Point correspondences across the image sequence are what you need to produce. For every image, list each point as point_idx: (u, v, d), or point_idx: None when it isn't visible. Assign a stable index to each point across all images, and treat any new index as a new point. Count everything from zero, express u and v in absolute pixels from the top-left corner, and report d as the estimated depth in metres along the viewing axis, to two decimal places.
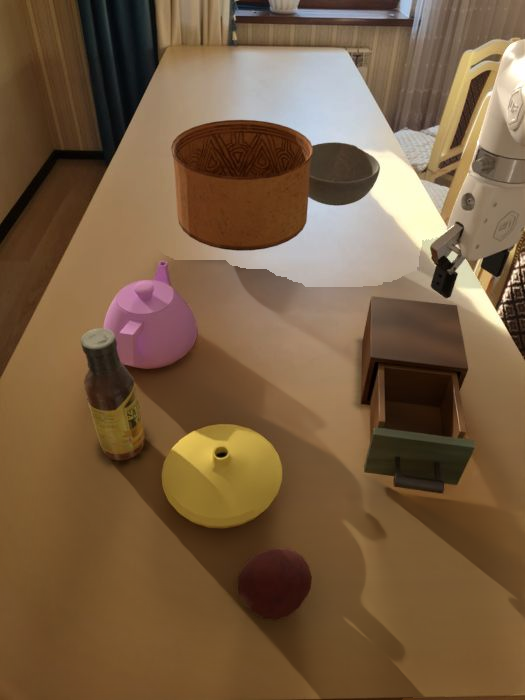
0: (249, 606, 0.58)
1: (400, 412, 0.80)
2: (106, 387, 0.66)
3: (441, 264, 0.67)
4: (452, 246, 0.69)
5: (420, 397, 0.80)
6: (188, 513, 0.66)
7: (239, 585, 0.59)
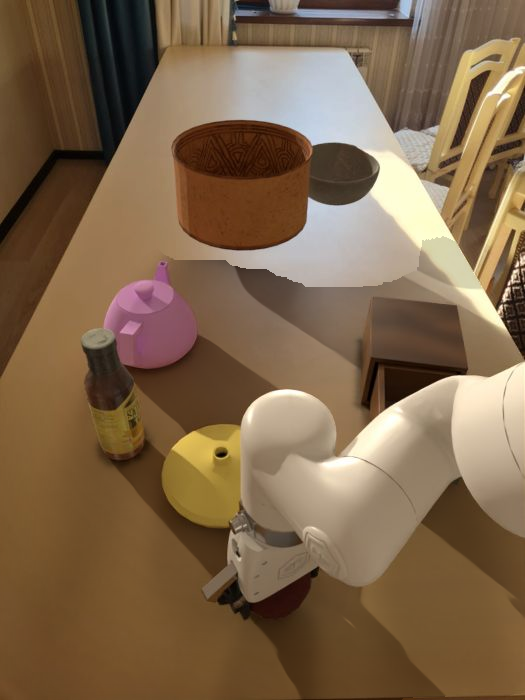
0: None
1: None
2: (106, 387, 0.66)
3: (221, 604, 0.54)
4: None
5: None
6: (188, 513, 0.66)
7: None
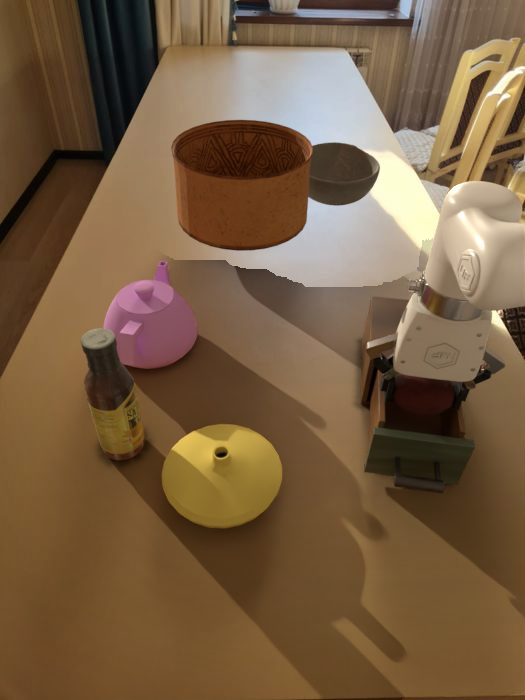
0: (393, 392, 0.72)
1: (400, 411, 0.80)
2: (106, 387, 0.66)
3: (374, 364, 0.69)
4: None
5: None
6: (188, 513, 0.66)
7: None
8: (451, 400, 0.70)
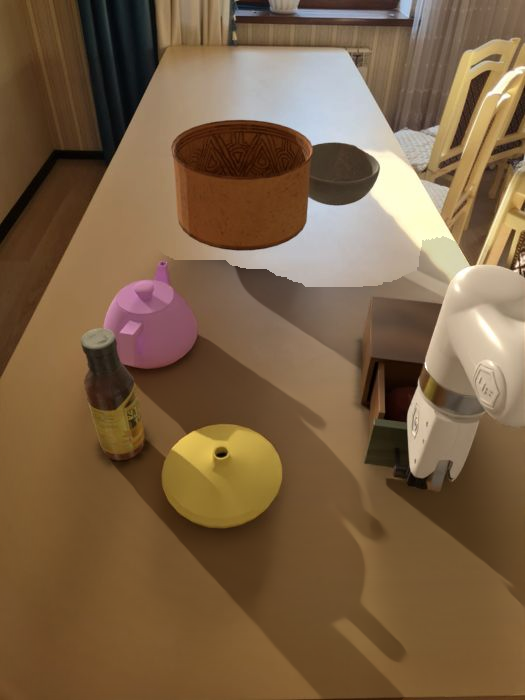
0: None
1: None
2: (106, 387, 0.66)
3: None
4: None
5: None
6: (188, 513, 0.66)
7: (385, 396, 0.77)
8: None
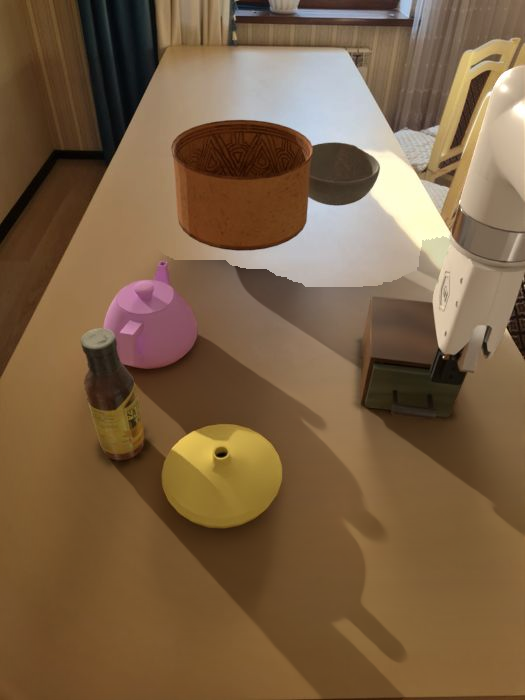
0: None
1: None
2: (106, 387, 0.66)
3: None
4: None
5: None
6: (188, 513, 0.66)
7: None
8: None
